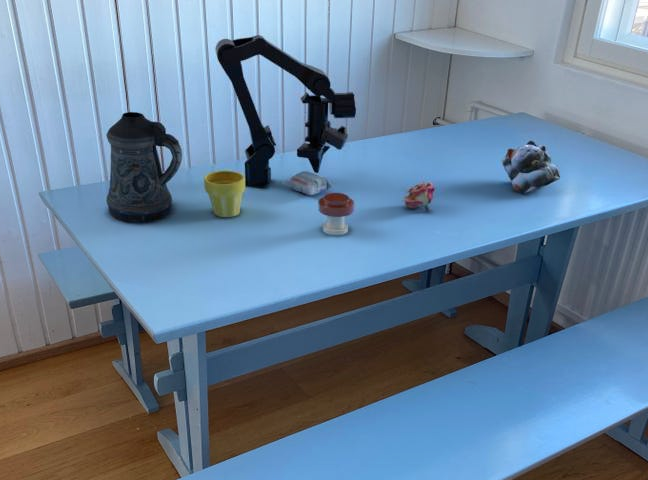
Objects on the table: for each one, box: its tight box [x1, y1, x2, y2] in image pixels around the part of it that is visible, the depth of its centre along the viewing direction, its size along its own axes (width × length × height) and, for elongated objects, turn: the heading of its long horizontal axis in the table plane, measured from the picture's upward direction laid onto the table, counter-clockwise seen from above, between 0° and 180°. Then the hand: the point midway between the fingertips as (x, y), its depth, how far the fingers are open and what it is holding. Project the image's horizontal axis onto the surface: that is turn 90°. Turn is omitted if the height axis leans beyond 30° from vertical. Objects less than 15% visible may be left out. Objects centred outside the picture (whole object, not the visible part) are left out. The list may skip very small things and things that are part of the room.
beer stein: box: [105, 111, 183, 224], centre depth 186 cm, size 16×19×25 cm
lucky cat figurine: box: [501, 140, 561, 195], centre depth 216 cm, size 15×12×14 cm
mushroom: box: [317, 192, 355, 236], centre depth 186 cm, size 9×9×9 cm
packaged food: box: [281, 171, 333, 196], centre depth 206 cm, size 9×12×5 cm
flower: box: [401, 180, 435, 212], centre depth 199 cm, size 10×9×8 cm
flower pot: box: [203, 169, 246, 218], centre depth 191 cm, size 10×10×10 cm
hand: (316, 172), depth 213 cm, fingers closed
